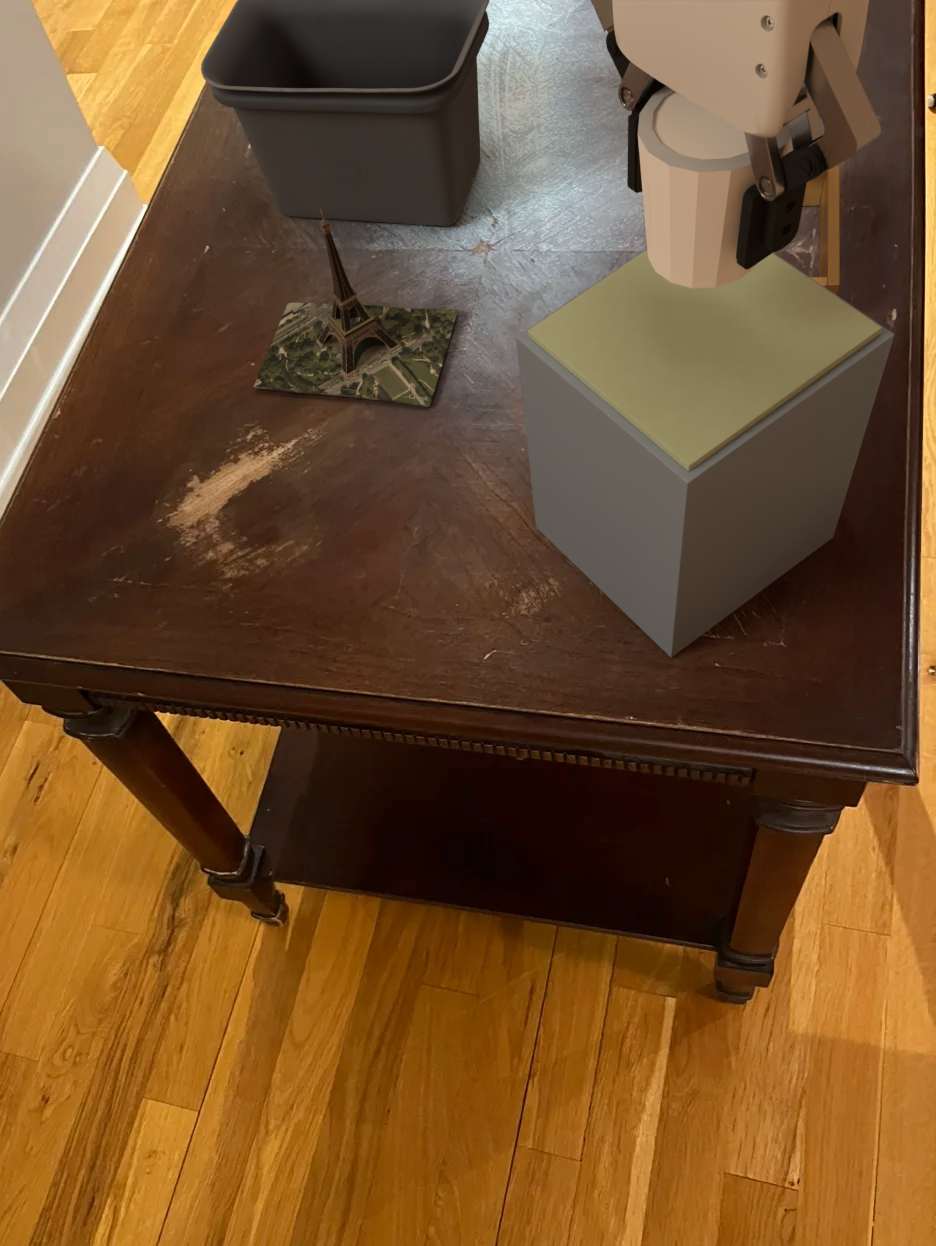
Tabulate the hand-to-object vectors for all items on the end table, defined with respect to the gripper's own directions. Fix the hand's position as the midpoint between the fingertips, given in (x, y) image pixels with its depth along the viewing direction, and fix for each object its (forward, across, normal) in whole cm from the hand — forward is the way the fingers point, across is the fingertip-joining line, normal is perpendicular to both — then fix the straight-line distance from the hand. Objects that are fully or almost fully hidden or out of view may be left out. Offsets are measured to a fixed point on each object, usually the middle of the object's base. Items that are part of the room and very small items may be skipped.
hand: (709, 210), depth 52 cm
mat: (+8, 0, 0) cm, 8 cm away
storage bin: (+26, +45, -6) cm, 52 cm away
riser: (+26, 0, 0) cm, 26 cm away
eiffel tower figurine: (+26, +30, +7) cm, 40 cm away
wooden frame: (+26, +16, -20) cm, 36 cm away
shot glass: (+2, 0, 0) cm, 2 cm away
